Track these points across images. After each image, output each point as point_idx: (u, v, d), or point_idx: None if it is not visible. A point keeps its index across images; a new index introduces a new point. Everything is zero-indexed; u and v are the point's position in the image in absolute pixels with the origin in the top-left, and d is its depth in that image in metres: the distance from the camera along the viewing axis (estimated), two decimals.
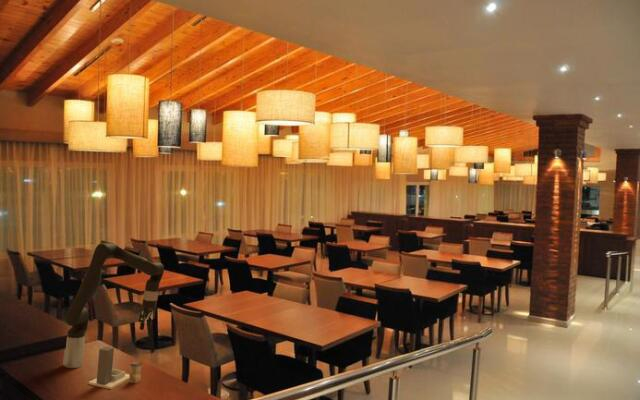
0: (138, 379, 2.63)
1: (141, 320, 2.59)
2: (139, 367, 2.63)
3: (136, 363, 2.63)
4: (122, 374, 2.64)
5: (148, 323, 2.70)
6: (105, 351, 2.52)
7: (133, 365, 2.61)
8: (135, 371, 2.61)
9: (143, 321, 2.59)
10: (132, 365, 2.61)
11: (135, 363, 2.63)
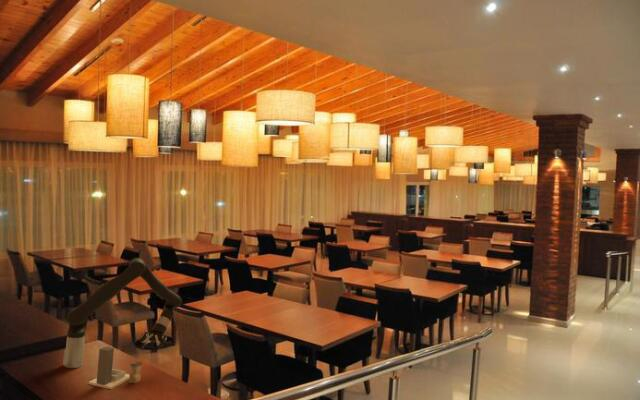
0: (138, 379, 2.63)
1: (163, 344, 2.75)
2: (139, 367, 2.63)
3: (136, 363, 2.63)
4: (122, 374, 2.64)
5: (142, 347, 2.74)
6: (105, 351, 2.52)
7: (133, 365, 2.61)
8: (135, 371, 2.61)
9: None
10: (132, 365, 2.61)
11: (135, 363, 2.63)
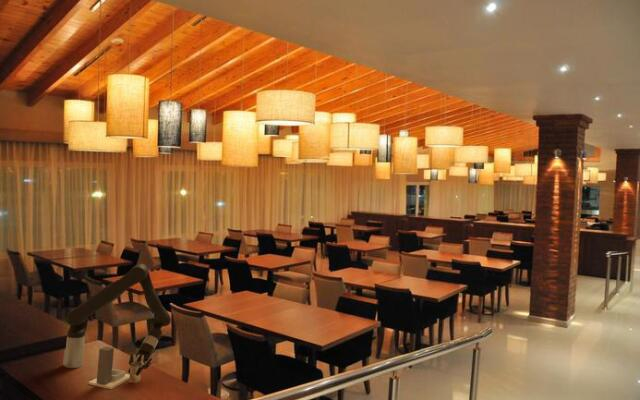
0: (138, 379, 2.63)
1: (146, 366, 2.64)
2: (139, 367, 2.63)
3: (136, 363, 2.63)
4: (122, 374, 2.64)
5: None
6: (105, 351, 2.52)
7: (133, 365, 2.61)
8: (135, 371, 2.61)
9: None
10: (132, 365, 2.61)
11: (135, 363, 2.63)
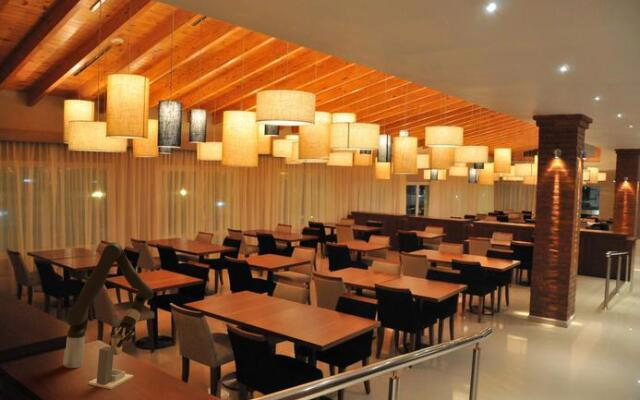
0: (119, 351, 2.63)
1: (127, 338, 2.64)
2: (120, 339, 2.63)
3: (117, 335, 2.62)
4: (122, 374, 2.64)
5: None
6: (105, 351, 2.52)
7: (114, 337, 2.61)
8: (116, 343, 2.61)
9: (127, 340, 2.64)
10: (113, 337, 2.61)
11: (116, 335, 2.62)
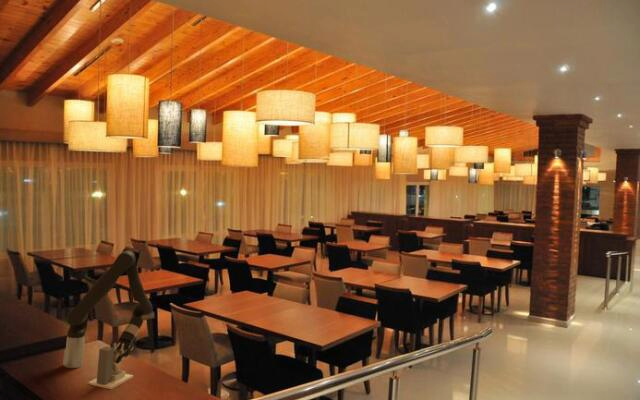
0: (118, 367, 2.63)
1: (126, 354, 2.64)
2: (119, 355, 2.63)
3: (116, 351, 2.63)
4: (122, 374, 2.64)
5: None
6: (105, 351, 2.52)
7: None
8: (115, 359, 2.61)
9: (126, 356, 2.64)
10: None
11: (115, 351, 2.62)
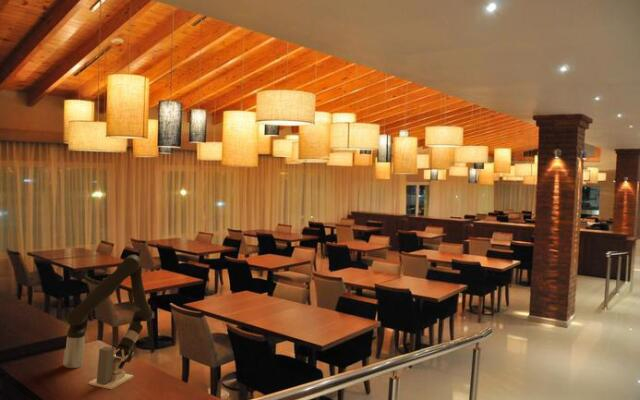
0: None
1: (129, 360, 2.64)
2: (118, 363, 2.63)
3: (115, 359, 2.63)
4: (122, 374, 2.64)
5: None
6: (105, 351, 2.52)
7: None
8: (114, 367, 2.61)
9: (129, 361, 2.64)
10: None
11: (114, 359, 2.63)
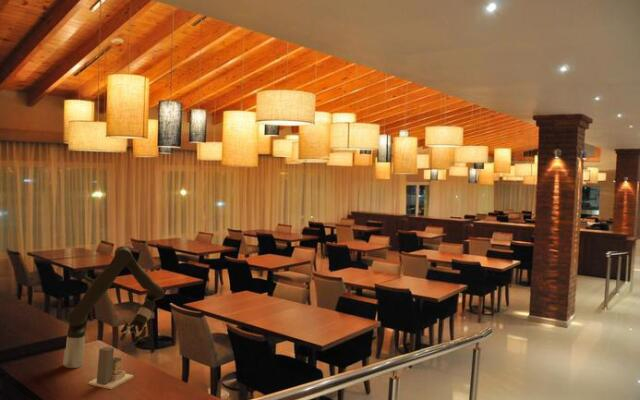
0: None
1: (143, 335, 2.74)
2: (118, 363, 2.63)
3: (115, 359, 2.63)
4: (122, 374, 2.64)
5: (123, 337, 2.74)
6: (105, 351, 2.52)
7: None
8: (114, 367, 2.61)
9: (143, 337, 2.75)
10: None
11: (114, 359, 2.63)
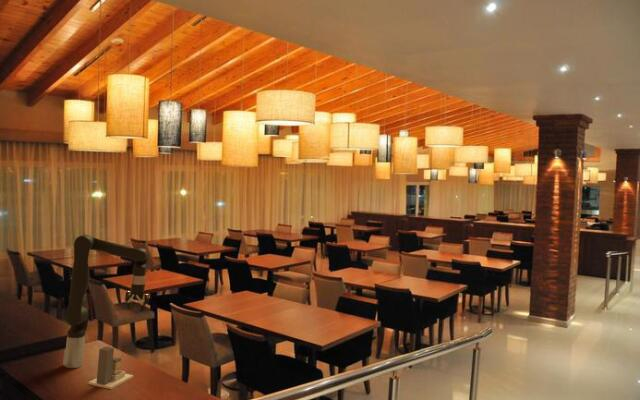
0: None
1: (147, 302, 2.81)
2: (118, 363, 2.63)
3: (115, 359, 2.63)
4: (122, 374, 2.64)
5: (130, 306, 2.84)
6: (105, 351, 2.52)
7: None
8: (114, 367, 2.61)
9: (148, 302, 2.83)
10: None
11: (114, 359, 2.63)
